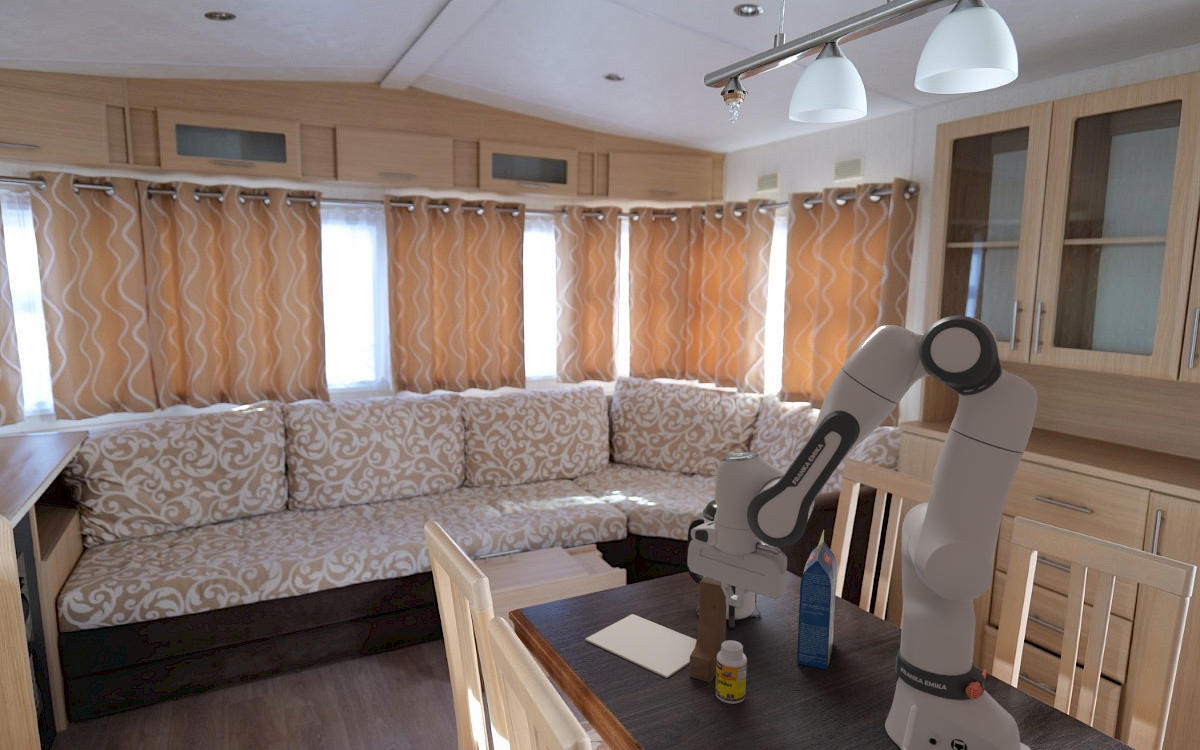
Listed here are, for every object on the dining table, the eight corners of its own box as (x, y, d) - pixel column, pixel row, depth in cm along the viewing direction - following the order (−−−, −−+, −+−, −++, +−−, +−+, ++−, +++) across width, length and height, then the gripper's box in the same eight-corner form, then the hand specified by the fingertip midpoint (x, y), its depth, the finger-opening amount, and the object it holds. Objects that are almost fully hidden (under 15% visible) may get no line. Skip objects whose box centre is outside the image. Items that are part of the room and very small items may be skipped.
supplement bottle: (709, 694, 134) (710, 643, 133) (729, 685, 138) (731, 634, 136) (731, 709, 130) (733, 656, 129) (751, 698, 133) (753, 646, 132)
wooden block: (710, 683, 138) (712, 594, 136) (688, 677, 140) (690, 589, 138) (725, 662, 146) (728, 578, 144) (704, 656, 148) (706, 573, 146)
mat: (712, 648, 152) (712, 646, 152) (667, 678, 140) (667, 676, 140) (632, 615, 166) (632, 613, 166) (585, 640, 154) (585, 638, 154)
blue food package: (795, 663, 146) (801, 545, 143) (803, 637, 157) (808, 527, 154) (828, 670, 143) (834, 550, 140) (833, 643, 154) (839, 531, 151)
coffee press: (757, 601, 174) (762, 482, 170) (763, 633, 158) (768, 501, 155) (686, 597, 176) (688, 478, 173) (684, 627, 161) (687, 498, 157)
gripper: (795, 546, 131) (792, 617, 133) (702, 520, 145) (700, 585, 146) (778, 555, 126) (775, 629, 128) (683, 528, 140) (682, 595, 142)
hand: (734, 605), depth 137 cm, fingers closed
